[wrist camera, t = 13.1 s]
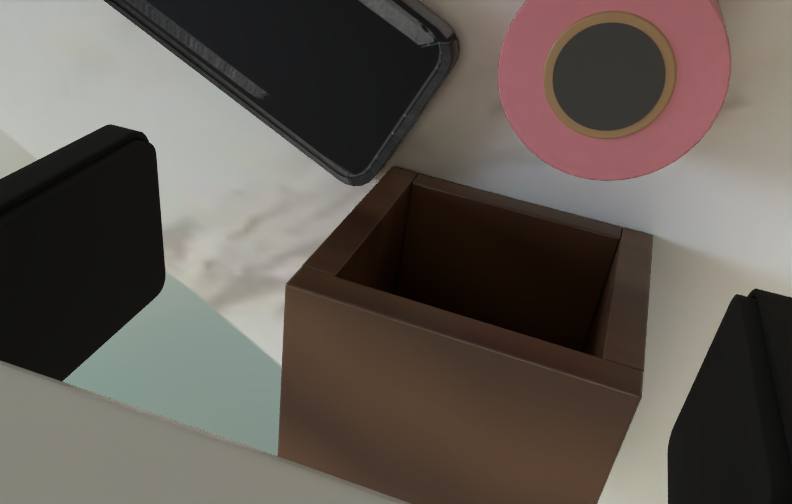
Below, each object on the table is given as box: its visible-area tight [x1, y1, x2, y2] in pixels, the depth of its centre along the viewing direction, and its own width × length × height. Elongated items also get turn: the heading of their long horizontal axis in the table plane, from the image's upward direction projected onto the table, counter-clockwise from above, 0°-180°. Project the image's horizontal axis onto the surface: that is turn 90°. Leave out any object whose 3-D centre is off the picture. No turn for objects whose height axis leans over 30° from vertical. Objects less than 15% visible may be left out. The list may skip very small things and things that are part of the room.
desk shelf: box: [278, 167, 653, 504], centre depth 28 cm, size 12×11×10 cm
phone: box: [104, 0, 459, 186], centre depth 28 cm, size 8×1×15 cm
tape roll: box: [498, 0, 731, 181], centre depth 23 cm, size 7×7×5 cm
